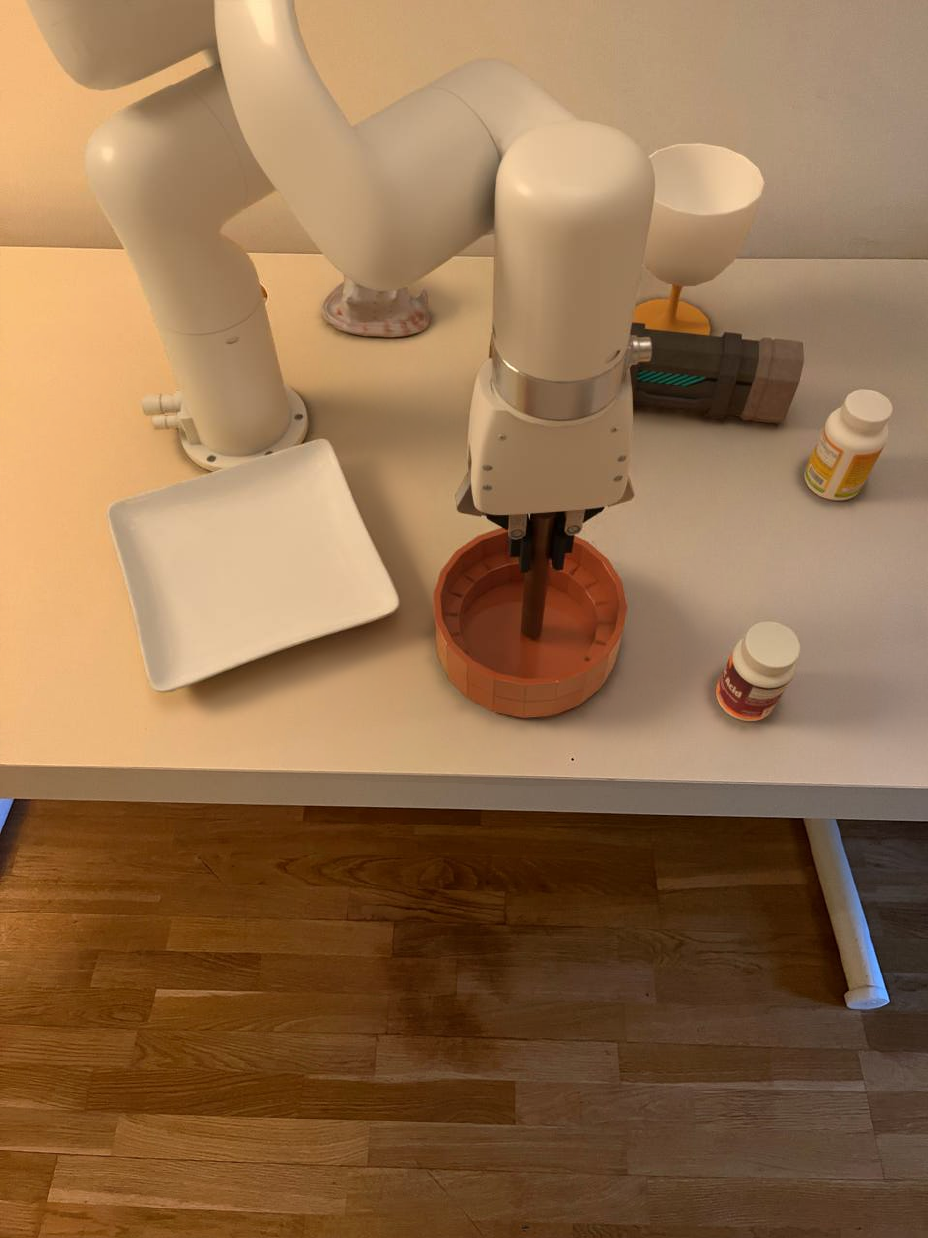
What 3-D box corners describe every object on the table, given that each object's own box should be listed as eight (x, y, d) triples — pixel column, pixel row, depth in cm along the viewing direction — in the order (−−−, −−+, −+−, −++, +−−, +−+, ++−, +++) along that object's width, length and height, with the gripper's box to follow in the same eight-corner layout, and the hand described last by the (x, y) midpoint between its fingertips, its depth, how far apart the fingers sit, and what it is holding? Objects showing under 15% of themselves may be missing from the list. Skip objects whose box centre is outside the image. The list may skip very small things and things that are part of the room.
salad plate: (163, 714, 73) (150, 694, 70) (114, 525, 84) (101, 501, 81) (408, 628, 77) (405, 606, 74) (332, 458, 88) (327, 433, 85)
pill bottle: (708, 673, 75) (732, 618, 68) (765, 669, 75) (795, 613, 68) (722, 725, 72) (749, 674, 65) (781, 720, 72) (814, 668, 65)
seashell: (346, 272, 104) (335, 195, 96) (445, 291, 102) (443, 214, 94) (312, 328, 98) (298, 252, 91) (416, 349, 96) (411, 274, 89)
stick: (521, 638, 75) (531, 519, 62) (519, 620, 76) (529, 498, 63) (542, 638, 75) (557, 518, 62) (541, 620, 76) (555, 498, 63)
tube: (500, 373, 98) (790, 377, 92) (492, 427, 96) (789, 434, 90) (485, 307, 88) (810, 306, 82) (476, 365, 86) (809, 369, 80)
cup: (616, 288, 101) (639, 138, 87) (722, 296, 100) (763, 146, 86) (610, 359, 95) (634, 210, 81) (723, 369, 94) (768, 220, 80)
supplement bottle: (866, 469, 86) (907, 393, 78) (854, 509, 84) (895, 434, 76) (810, 452, 88) (844, 375, 80) (796, 491, 85) (830, 415, 77)
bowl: (443, 727, 72) (440, 692, 67) (431, 573, 80) (428, 531, 75) (631, 712, 73) (642, 676, 68) (600, 561, 81) (608, 518, 76)
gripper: (680, 309, 54) (634, 509, 69) (415, 327, 53) (428, 524, 69) (710, 399, 50) (654, 589, 65) (423, 419, 49) (435, 606, 64)
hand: (538, 555), depth 67 cm, fingers closed on stick, 1 cm apart
